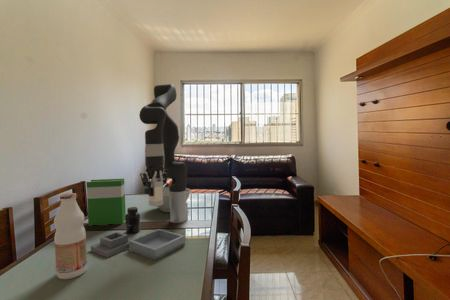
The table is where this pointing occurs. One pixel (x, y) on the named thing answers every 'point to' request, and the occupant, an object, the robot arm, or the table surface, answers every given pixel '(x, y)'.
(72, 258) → the fruit juice
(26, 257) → the table surface
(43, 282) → the table surface
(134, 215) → the supplement bottle
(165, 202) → the decorative bowl
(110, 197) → the green cereal box
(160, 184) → the block
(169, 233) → the parts tray
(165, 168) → the robot arm
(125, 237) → the grey stepped block piece
